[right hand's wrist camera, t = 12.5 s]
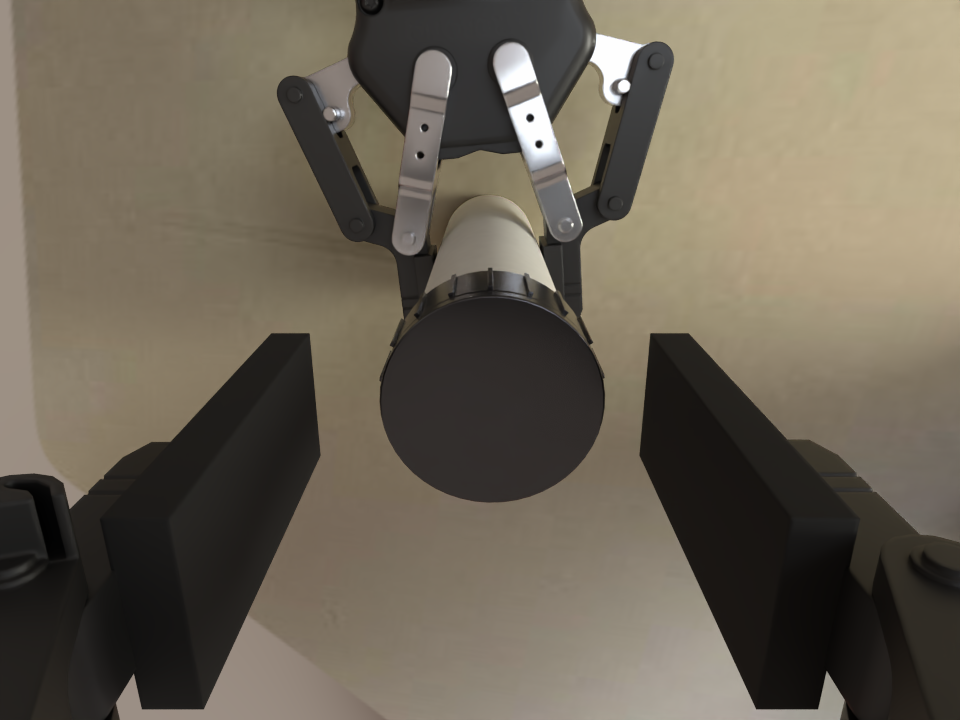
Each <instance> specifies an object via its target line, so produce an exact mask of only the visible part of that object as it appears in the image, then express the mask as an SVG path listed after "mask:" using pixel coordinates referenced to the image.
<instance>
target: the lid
mask: <svg viewBox="0 0 960 720" xmlns="http://www.w3.org/2000/svg"><path fill="white" fill-rule="evenodd" d="M592 343H593V341H592V339H591V337H590V335H589V332H588V330H587V328H586V326H585V324H584V322H583V320H582V318H581V316H579V317H578V318H577V317H576V315H575V313H574V312H573V310H572V309H571V308H570V307H569V305H568V304H567V303H566V302H565V301H564V300H563V298H562V295H561V293H560V292H559V291H558V290H556V291H555V292H554V291H553V290H551V289H550V288H548V287H547V286H546V285H544V284H542V283H540V282H538V281H536V280H534V279H532V278H530V276H529V274H527V273H524V276H523V275H520V274H516V273H512V272H506V271H495V270H494V271H493V268H488V271H478V272H472V273H467V274H464V275H460V276H457V275H456V274H454V275H452V276H451V279H450V280H448V281H445V282H443V283H442V284H440V285H438V286H437V287H435V288H433V289H432V290H431V291H429V292H428V293H427V294H426V293H425V292H423V293H422V294H421V296H420V298H419V301H418V302H417V304H416V305H415V306H414V307H413V308H412V310H411V311H410V312H409V314H408V315H407V317H406V318H405V320H404V319H401V320H400V322H399V325H398V327H397V329H396V332H395V334H394V337H393V339H392V341H391V344H390V346H392V347H393V348H392V351H390V353H389V356H388V358H387V361H386V363H385V366H384V368H383V371H382V373H381V376H380V381H381V386H380V410H381V417H382V421H383V425H384V429H385V431H386V434H387V436H388V439H389V441H390V443H391V445H392V446H393V448H394V450H395V452H396V453H397V455H398V456H399V457H400V459H401V460H402V461H403V463H404V464H405V465H406V466H407V467H408V468H409V469H410V470H411V471H412V472H413V473H414V474H415V475H417V476H418V477H419V478H420V479H422V480H423V481H424V482H426V483H428V484H429V485H431V486H432V487H434V488H436V489H438V490H440V491H442V492H444V493H446V494H449V495H452V496H455V497H458V498H461V499H466V500H471V501H477V502H506V501H513V500H518V499H522V498H526V497H530V496H532V495H535V494H537V493H540V492H543V491H544V490H546V489H548V488H550V487H552V486H554V485H555V484H557V483H558V482H560V481H561V480H562V479H564V478H565V477H567V476H568V475H569V474H570V473H571V472H572V471H573V470H574V469H575V468H576V467H577V466H578V465H579V464H580V463H581V462H582V460H583V459H584V458H585V457H586V455H587V454H588V452H589V450H590V449H591V447H592V446H593V444H594V442H595V440H596V437H597V435H598V433H599V430H600V427H601V424H602V420H603V414H604V408H605V390H604V382H603V378H604V373H603V371H602V368H601V366H600V364H599V362H598V360H597V357H596V355H595V353H594V351H593V349H592V348H591V346H590V344H592Z"/></svg>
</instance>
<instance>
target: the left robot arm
mask: <svg viewBox="0 0 960 720" xmlns="http://www.w3.org/2000/svg"><path fill="white" fill-rule="evenodd" d="M673 63H674V56H673V52H672V50H671V48H670V47H669V46H668V45H667V44H665V43H663V42H652V43H647V44H644V45H642V44H638V43H634V42H630V41H626V40H622V39H618V38H614V37H610V36H606V35H602V34H598V33H596V29H595V25H594V22H593V20H592V18H591V16H590V15H589V13H588V11H587V10H586V8H585V5H584V3H583V0H356V22H355V27H354V32H353V35H352V37H351V40H350V43H349V46H348V58H345V59H343V60H341V61H339V62H337V63H335V64H333V65H331V66H328V67H326V68H324V69H322V70H320V71H318V72H316V73H314V74H312V75H309V76H307V77H299V76H288V77H286V78H284V79H283V80H282V81H281V82H280V84H279V86H278V89H277V97H278V101H279V103H280V105H281V107H282V109H283V111H284V113H285V115H286V117H287V119H288V121H289V124H290V126H291V128H292V130H293V132H294V134H295V136H296V138H297V140H298V142H299V144H300V146H301V148H302V150H303V152H304V154H305V157H306V159H307V161H308V163H309V165H310V167H311V169H312V171H313V173H314V175H315V177H316V179H317V181H318V183H319V185H320V187H321V189H322V192H323V194H324V196H325V198H326V200H327V202H328V204H329V206H330V208H331V210H332V212H333V214H334V216H335V218H336V220H337V222H338V225H339V227H340V229H341V231H342V233H343V234H344V235H345V237H346V238H348V239H349V240H351V241H355V242H361V241H366V242H370V243H373V244H377V245H381V246H384V247H385V248H387V249H389V250H390V251H391V252H392V254H393V255H394V257H395V259H396V262H397V268H398V276H399V283H400V291H401V298H402V307H403V314H404V320H405V318H406V317H407V315H408V314H409V312H410V311H411V310H412V308H413V307H414V306H415V305H416V304H417V302H418V301H419V298H420V296H421V294H422V293H423V292H425V289H426V286H427V283H428V280H429V277H430V274H431V272H432V269H433V266H434V263H435V260H436V257H437V248H436V245H431V244H430V235H429V232H430V227H431V221H432V215H433V209H434V203H435V197H436V192H437V187H438V182H439V177H440V172H441V166H442V160H443V159H454V158H460V157H462V156H465V155H467V154H470V153H473V152H475V151H478V150H484V151H489V152H494V153H500V154H508V153H519V152H520V154H521V157H522V159H523V162H524V165H525V168H526V171H527V174H528V176H529V179H530V181H531V184H532V187H533V190H534V193H535V196H536V198H537V201H538V204H539V207H540V210H541V213H542V216H543V223H544V236H539V245H540V251H541V254H542V256H543V259H544V261H545V264H546V266H547V269H548V271H549V274H550V276H551V279H552V281H553V284H554V287H555V289H556V290H558V291H559V292H560V293H561V295H562V298H563V300H564V301H565V302H566V303H567V304H568V305H569V307H570V308H571V309H572V310H573V312H574V313H575V315H576V317H577V318H578V317H579V316H580V315H581V312H582V309H583V308H582V285H581V258H580V244H581V241H582V238H583V236H584V235H585V234H586V232H587V231H589V230H590V229H591V228H593V227H595V226H598V225H600V224H602V223H604V222H606V221H609V220H619V219H622V218H623V217H625V216H626V215H627V214H628V213H629V211H630V209H631V206H632V203H633V199H634V196H635V193H636V189H637V186H638V182H639V179H640V176H641V172H642V169H643V165H644V162H645V159H646V155H647V152H648V149H649V145H650V142H651V138H652V135H653V132H654V128H655V125H656V122H657V118H658V115H659V111H660V108H661V105H662V101H663V98H664V94H665V91H666V88H667V84H668V81H669V78H670V74H671V71H672V67H673ZM588 64H589V65H591V66H593V67H594V68H595V69H596V71H597V73H598V75H599V94H600V97H601V99H602V100H603V101H604V102H605V103H606V104H608V105H611V106H613V107H612V110H611V114H610V118H609V121H608V125H607V129H606V132H605V136H604V140H603V143H602V147H601V151H600V154H599V158H598V161H597V165H596V169H595V172H594V176H593V180H592V183H591V186H590V187H588V188H586V189H584V190H581V191H579V192H577V193H575V194H573V192H572V189H571V186H570V183H569V180H568V177H567V173H566V168H565V164H564V161H563V158H562V155H561V152H560V149H559V146H558V143H557V140H556V137H555V134H554V131H553V128H552V123H553V121H554V120H555V118H556V116H557V115H558V113H559V111H560V110H561V108H562V106H563V105H564V103H565V101H566V100H567V98H568V96H569V95H570V93H571V91H572V90H573V88H574V86H575V85H576V83H577V81H578V80H579V78H580V76H581V75H582V73H583V71H584V70H585V68H586V66H587V65H588ZM360 86H361V87H362V88H363V89H364V90H365V91H366V92H367V94H368V95H369V96H370V97H371V98H372V99H373V101H374V102H375V103H376V104H377V105H378V106H379V107H380V109H381V110H382V111H383V112H384V113H385V114H386V116H387V117H388V118H389V119H390V120H391V121H392V123H393V124H394V125H395V126H396V127H397V128H398V130H399V131H400V132H401V133H402V134H403V135H404V137H405V142H404V149H403V155H402V162H401V169H400V175H399V192H398V199H397V205H396V210H395V209H391V208H388V207H384V206H380V205H379V203H378V201H377V199H376V197H375V195H374V193H373V190H372V188H371V186H370V184H369V182H368V180H367V177H366V175H365V173H364V171H363V169H362V167H361V164H360V162H359V160H358V158H357V156H356V154H355V151H354V149H353V147H352V145H351V143H350V141H349V138H348V136H347V134H346V132H345V130H347V129H349V128H350V127H351V126H352V125H353V123H354V121H355V109H354V106H353V97H354V94H355V92H356V90H357V89H358V88H359V87H360Z"/></svg>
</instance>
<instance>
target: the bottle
mask: <svg viewBox="0 0 960 720" xmlns="http://www.w3.org/2000/svg"><path fill="white" fill-rule="evenodd" d="M488 268H493V271H494V270H495V271H506V272H512V273H516V274H520V275H523V276H524V273H527V274H529V276H530V278H532V279H534V280H536V281H538V282H540V283H542V284H544V285H546V286H547V287H548V288H550V289H551V290H553V291H554V292H555V291H556V289H555V287H554V284H553V281H552V279H551V276H550V274H549V271H548V269H547V266H546V264H545V261H544V259H543V256H542V254H541V251H540V248H539V246H538V243H537V241H536V238H535V236H534V233H533V231H532V228H531V226H530V223H529V221H528V218H527V217H526V215H525V213H524V212H523V211H522V210H521V208H519V207H518V206H517V205H516V204H515V203H513V202H512V201H510V200H508V199H506V198H504V197H501V196H497V195H482V196H477V197H474V198H472V199H469V200H467V201H466V202H464V203H463V204H462V205H460V206H459V207H458V208H457V209H456V211H455V212H454V213H453V215H452V216H451V218H450V220H449V222H448V225H447V228H446V231H445V234H444V237H443V240H442V243H441V245H440V248H439V251H438V254H437V257H436V260H435V263H434V266H433V269H432V272H431V274H430V277H429V280H428V283H427V286H426V289H425V293H426V294H427V293H428V292H429V291H431V290H432V289H433V288H435V287H437V286H438V285H440V284H442V283H443V282H445V281H448V280H450V279H451V276H452V275H454V274H456V275H457V276H460V275H464V274H467V273H472V272H478V271H488Z"/></svg>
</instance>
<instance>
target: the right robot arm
mask: <svg viewBox="0 0 960 720" xmlns="http://www.w3.org/2000/svg"><path fill="white" fill-rule="evenodd" d="M319 458H320V445H319V434H318V422H317V411H316V400H315V389H314V378H313V367H312V356H311V345H310V334H309V333H271V334H270V336H269V337H268V338H267V339H266V340H265V341H264V342H263V343H262V344H261V345H260V346H259V347H258V348H257V350H256V351H255V352H254V353H253V354H252V355H251V356H250V357H249V358H248V359H247V360H246V361H245V362H244V364H243V365H242V366H241V367H240V368H239V369H238V370H237V371H236V372H235V373H234V374H233V375H232V376H231V378H230V379H229V380H228V381H227V382H226V383H225V384H224V385H223V386H222V387H221V388H220V389H219V390H218V392H217V393H216V394H215V395H214V396H213V397H212V398H211V399H210V400H209V401H208V402H207V403H206V405H205V406H204V407H203V408H202V409H201V410H200V411H199V412H198V413H197V414H196V415H195V416H194V417H193V419H192V420H191V421H190V422H189V423H188V424H187V425H186V426H185V427H184V428H183V429H182V430H181V431H180V433H179V434H178V435H177V436H176V437H175V438H174V439H173V440H172V441H171V442H151V443H149V444H147V445H145V446H143V447H142V448H140V449H138V450H136V451H134V452H132V453H130V454H128V455H127V456H125V457H123V458H122V459H121V460H120V461H119V462H118V463H117V464H116V465H115V466H114V467H113V468H112V469H110V470H109V471H108V472H107V473H106V474H105V475H104V479H100V480H99V481H98V482H97V483H96V484H95V485H94V486H93V487H92V488H91V489H90V490H89V493H88V495H84V496H83V497H82V498H81V499H80V500H79V501H78V502H77V503H76V504H75V505H74V506H73V507H72V508H71V509H69V505H68V501H67V497H66V492H65V488H64V484H63V483H62V482H61V481H59V480H58V479H56V478H55V477H53V476H47V475H40V474H21V475H9V476H4V477H0V720H120V719H119V714H118V710H117V706H116V701H117V700H118V698H119V697H120V695H121V693H122V692H123V690H124V688H125V687H126V685H127V684H128V682H129V680H130V679H131V677H132V675H133V674H134V676H135V680H136V685H137V689H138V693H139V698H140V702H141V707H142V709H204V707H205V705H206V703H207V701H208V699H209V697H210V694H211V692H212V690H213V688H214V686H215V684H216V681H217V679H218V677H219V675H220V673H221V671H222V668H223V666H224V664H225V662H226V660H227V657H228V655H229V653H230V651H231V649H232V647H233V644H234V642H235V640H236V638H237V636H238V634H239V631H240V629H241V627H242V625H243V623H244V620H245V618H246V616H247V614H248V612H249V610H250V607H251V605H252V603H253V601H254V599H255V597H256V594H257V592H258V590H259V588H260V586H261V584H262V581H263V579H264V577H265V575H266V573H267V571H268V568H269V566H270V564H271V562H272V560H273V558H274V555H275V553H276V551H277V549H278V547H279V544H280V542H281V540H282V538H283V536H284V534H285V531H286V529H287V527H288V525H289V523H290V521H291V518H292V516H293V514H294V512H295V510H296V508H297V505H298V503H299V501H300V499H301V497H302V494H303V492H304V490H305V488H306V486H307V484H308V481H309V479H310V477H311V475H312V473H313V471H314V468H315V466H316V464H317V462H318V460H319ZM640 458H641V460H642V462H643V464H644V466H645V468H646V471H647V473H648V475H649V477H650V479H651V481H652V484H653V486H654V488H655V490H656V492H657V494H658V497H659V499H660V501H661V503H662V505H663V508H664V510H665V512H666V514H667V516H668V518H669V521H670V523H671V525H672V527H673V529H674V531H675V534H676V536H677V538H678V540H679V542H680V544H681V547H682V549H683V551H684V553H685V555H686V558H687V560H688V562H689V564H690V566H691V568H692V571H693V573H694V575H695V577H696V579H697V581H698V584H699V586H700V588H701V590H702V592H703V594H704V597H705V599H706V601H707V603H708V605H709V608H710V610H711V612H712V614H713V616H714V618H715V621H716V623H717V625H718V627H719V629H720V631H721V634H722V636H723V638H724V640H725V642H726V644H727V647H728V649H729V651H730V653H731V655H732V657H733V660H734V662H735V664H736V666H737V668H738V671H739V673H740V675H741V677H742V679H743V681H744V684H745V686H746V688H747V690H748V692H749V694H750V697H751V699H752V701H753V703H754V705H755V707H756V709H818V707H819V702H820V698H821V693H822V689H823V685H824V680H825V676H826V671H827V672H828V673H829V675H830V677H831V678H832V680H833V682H834V683H835V685H836V686H837V688H838V690H839V691H840V693H841V694H842V696H843V698H844V699H845V702H844V706H843V710H842V714H841V719H840V720H960V543H959V542H955V541H952V540H948V539H944V538H940V537H936V536H928V535H920V534H919V533H918V532H917V531H916V530H915V529H914V528H912V527H911V526H910V525H909V524H908V523H907V522H906V521H905V520H904V519H903V518H902V517H901V516H900V515H899V514H898V513H897V512H896V511H895V510H894V509H893V508H892V507H891V506H890V505H889V504H888V503H887V502H886V501H885V500H884V499H883V498H882V497H880V496H879V495H878V494H877V493H876V492H872V488H871V487H870V486H869V485H868V484H867V483H866V482H865V481H864V480H863V479H862V478H861V477H857V476H856V472H855V471H854V470H853V469H852V468H851V467H849V466H848V465H847V464H846V463H845V462H844V461H843V460H842V459H841V458H840V457H839V456H838V455H836V454H835V453H833V452H831V451H829V450H827V449H825V448H823V447H821V446H820V445H818V444H816V443H814V442H812V441H810V440H787V439H786V438H785V437H784V436H783V435H782V434H781V433H780V431H779V430H778V429H777V428H776V427H775V426H774V425H773V424H772V423H771V422H770V421H769V420H768V419H767V417H766V416H765V415H764V414H763V413H762V412H761V411H760V410H759V409H758V408H757V407H756V406H755V405H754V403H753V402H752V401H751V400H750V399H749V398H748V397H747V396H746V395H745V394H744V393H743V392H742V391H741V389H740V388H739V387H738V386H737V385H736V384H735V383H734V382H733V381H732V380H731V379H730V378H729V376H728V375H727V374H726V373H725V372H724V371H723V370H722V369H721V368H720V367H719V366H718V365H717V364H716V362H715V361H714V360H713V359H712V358H711V357H710V356H709V355H708V354H707V353H706V352H705V351H704V350H703V348H702V347H701V346H700V345H699V344H698V343H697V342H696V341H695V340H694V339H693V338H692V337H691V336H690V334H689V333H651V334H650V345H649V356H648V367H647V378H646V389H645V400H644V411H643V422H642V434H641V445H640Z"/></svg>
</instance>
